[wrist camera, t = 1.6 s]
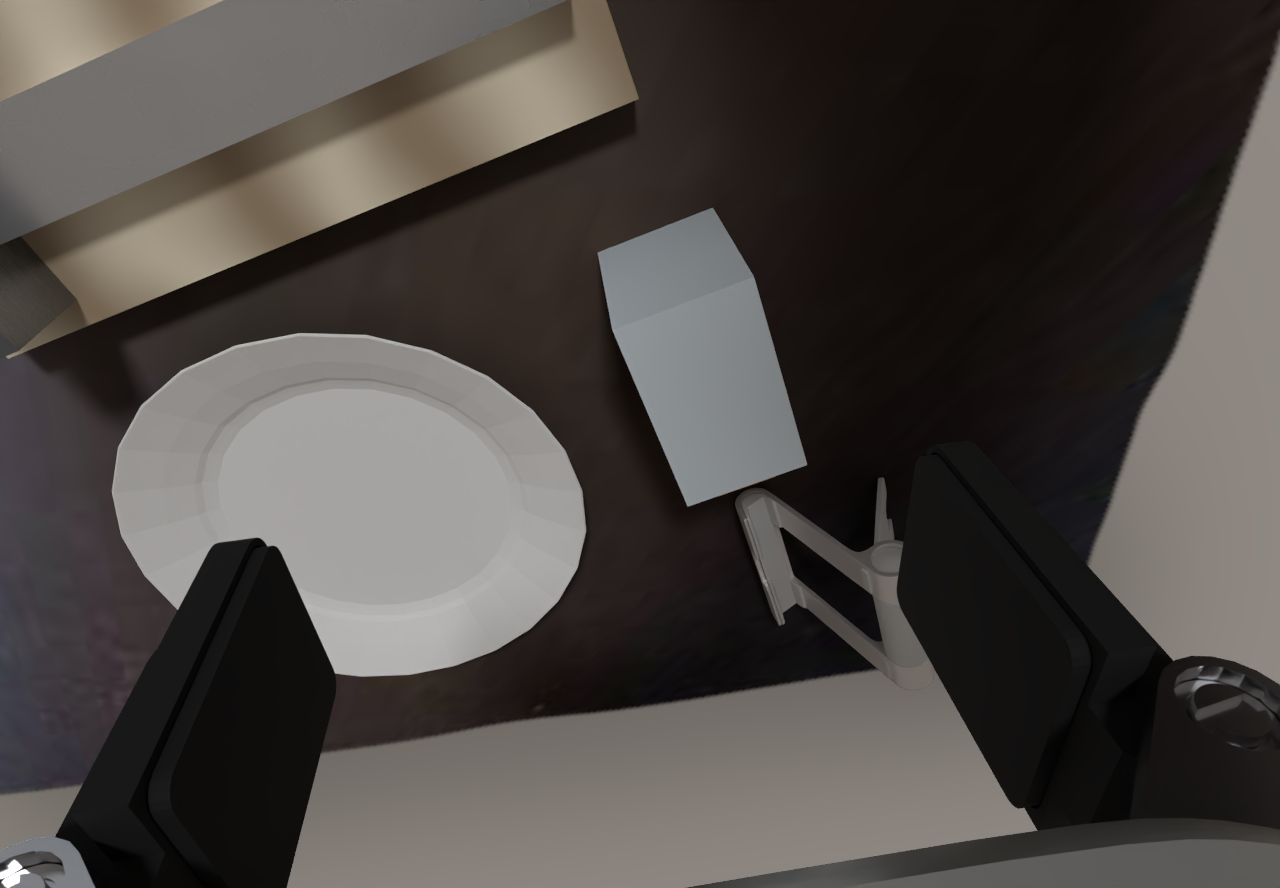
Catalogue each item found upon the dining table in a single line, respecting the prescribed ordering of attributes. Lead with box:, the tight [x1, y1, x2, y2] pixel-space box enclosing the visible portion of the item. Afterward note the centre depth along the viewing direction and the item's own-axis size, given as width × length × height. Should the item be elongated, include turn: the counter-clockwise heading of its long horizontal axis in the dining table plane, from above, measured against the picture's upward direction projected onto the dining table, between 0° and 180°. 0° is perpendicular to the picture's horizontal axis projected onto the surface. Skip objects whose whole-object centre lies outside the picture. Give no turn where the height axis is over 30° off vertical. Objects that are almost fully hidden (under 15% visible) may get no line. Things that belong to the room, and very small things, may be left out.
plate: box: [112, 333, 586, 677], centre depth 37 cm, size 21×21×2 cm
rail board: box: [0, 0, 639, 359], centre depth 25 cm, size 26×11×2 cm, turn 110°
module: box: [598, 208, 807, 506], centre depth 31 cm, size 5×9×7 cm, turn 20°
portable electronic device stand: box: [735, 477, 934, 690], centre depth 38 cm, size 9×8×8 cm
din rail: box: [0, 0, 566, 358], centre depth 23 cm, size 24×9×4 cm, turn 110°
